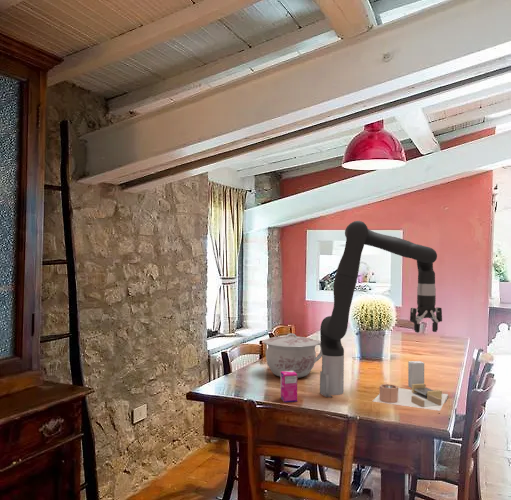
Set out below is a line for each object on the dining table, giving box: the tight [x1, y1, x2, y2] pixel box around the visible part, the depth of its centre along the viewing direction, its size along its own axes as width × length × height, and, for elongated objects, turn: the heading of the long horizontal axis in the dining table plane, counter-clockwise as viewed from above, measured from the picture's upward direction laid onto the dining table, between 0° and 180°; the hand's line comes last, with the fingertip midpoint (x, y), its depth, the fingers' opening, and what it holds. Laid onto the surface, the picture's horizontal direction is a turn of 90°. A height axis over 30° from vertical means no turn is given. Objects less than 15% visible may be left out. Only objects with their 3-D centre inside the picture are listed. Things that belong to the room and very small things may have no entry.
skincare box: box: [407, 360, 425, 389], centre depth 237 cm, size 6×4×12 cm
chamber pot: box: [262, 333, 322, 379], centre depth 259 cm, size 28×28×21 cm
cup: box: [379, 383, 399, 404], centre depth 214 cm, size 7×7×6 cm
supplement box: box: [280, 371, 298, 403], centre depth 216 cm, size 6×6×12 cm
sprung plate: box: [415, 387, 435, 395], centre depth 221 cm, size 6×8×1 cm
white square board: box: [372, 383, 449, 415], centre depth 218 cm, size 26×26×5 cm
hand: (425, 332), depth 225 cm, fingers open, 8 cm apart
